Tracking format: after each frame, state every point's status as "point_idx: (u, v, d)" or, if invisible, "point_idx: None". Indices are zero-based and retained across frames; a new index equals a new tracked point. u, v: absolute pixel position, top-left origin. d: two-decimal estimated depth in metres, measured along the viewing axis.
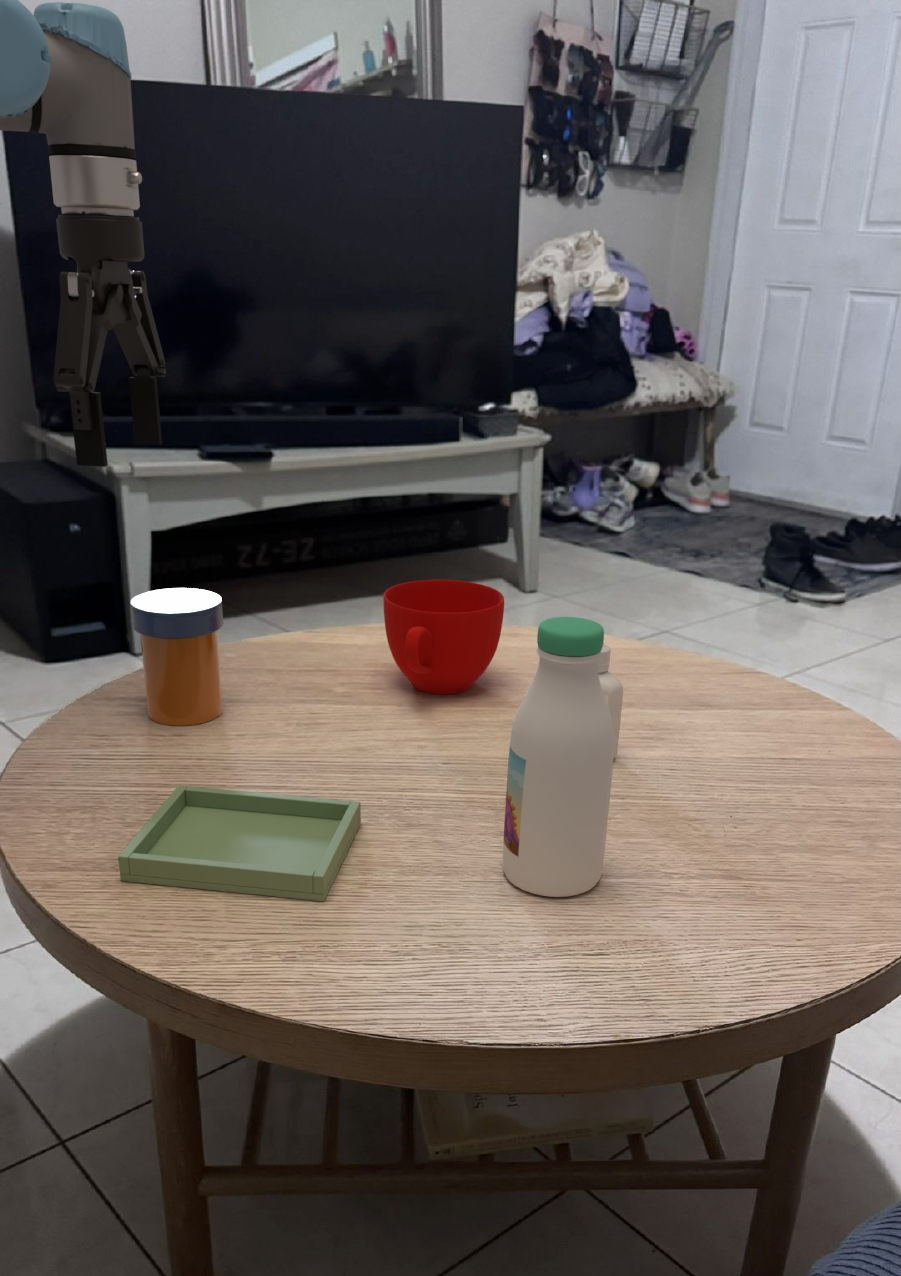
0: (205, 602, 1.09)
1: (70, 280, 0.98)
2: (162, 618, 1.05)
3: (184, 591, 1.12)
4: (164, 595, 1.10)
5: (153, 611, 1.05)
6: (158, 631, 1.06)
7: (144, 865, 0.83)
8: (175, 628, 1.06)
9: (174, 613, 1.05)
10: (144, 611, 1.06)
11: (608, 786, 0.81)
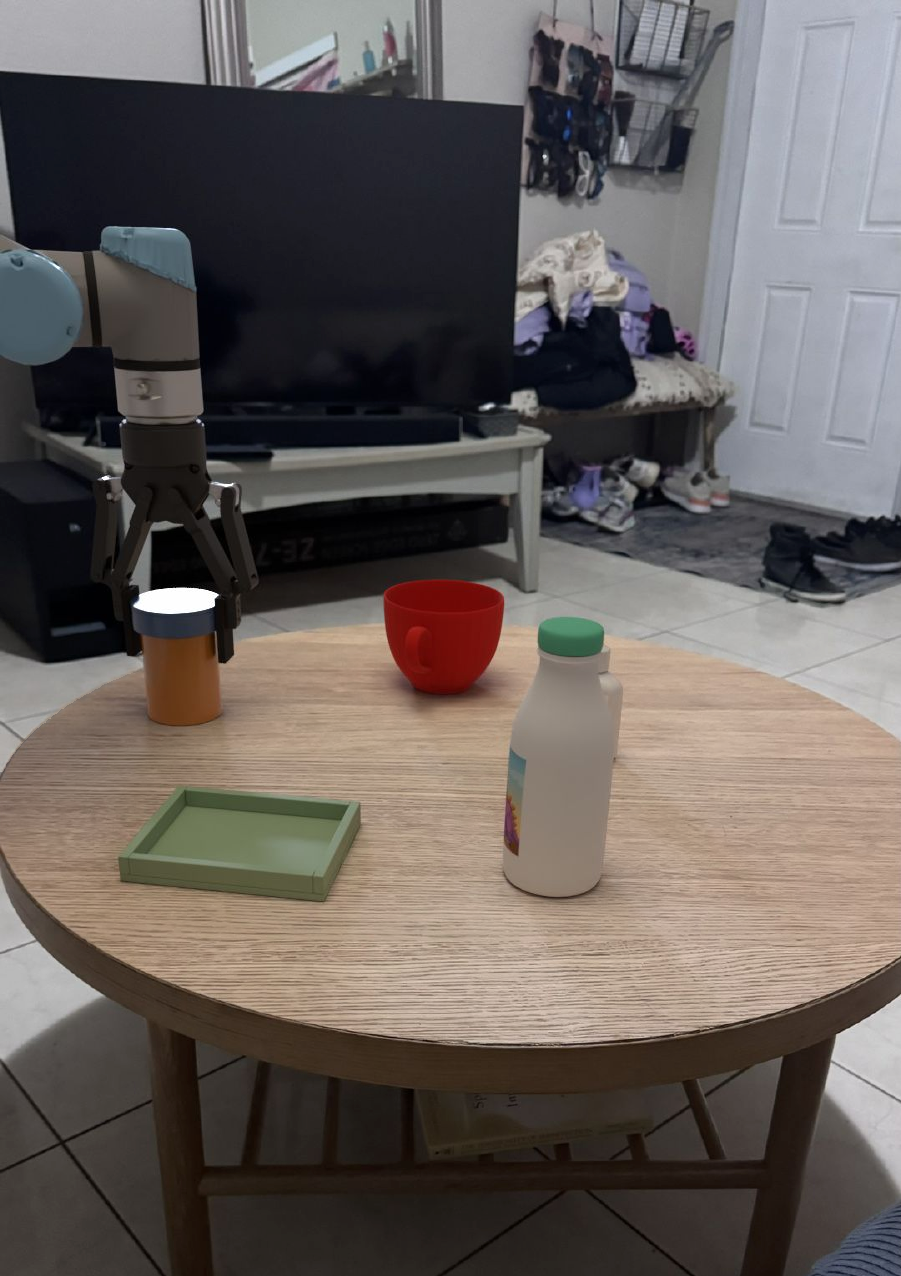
0: (205, 602, 1.09)
1: None
2: (162, 618, 1.05)
3: (184, 591, 1.12)
4: (164, 595, 1.10)
5: (153, 611, 1.05)
6: (158, 631, 1.06)
7: (144, 865, 0.83)
8: (175, 628, 1.06)
9: (174, 613, 1.05)
10: (144, 611, 1.06)
11: (608, 786, 0.81)
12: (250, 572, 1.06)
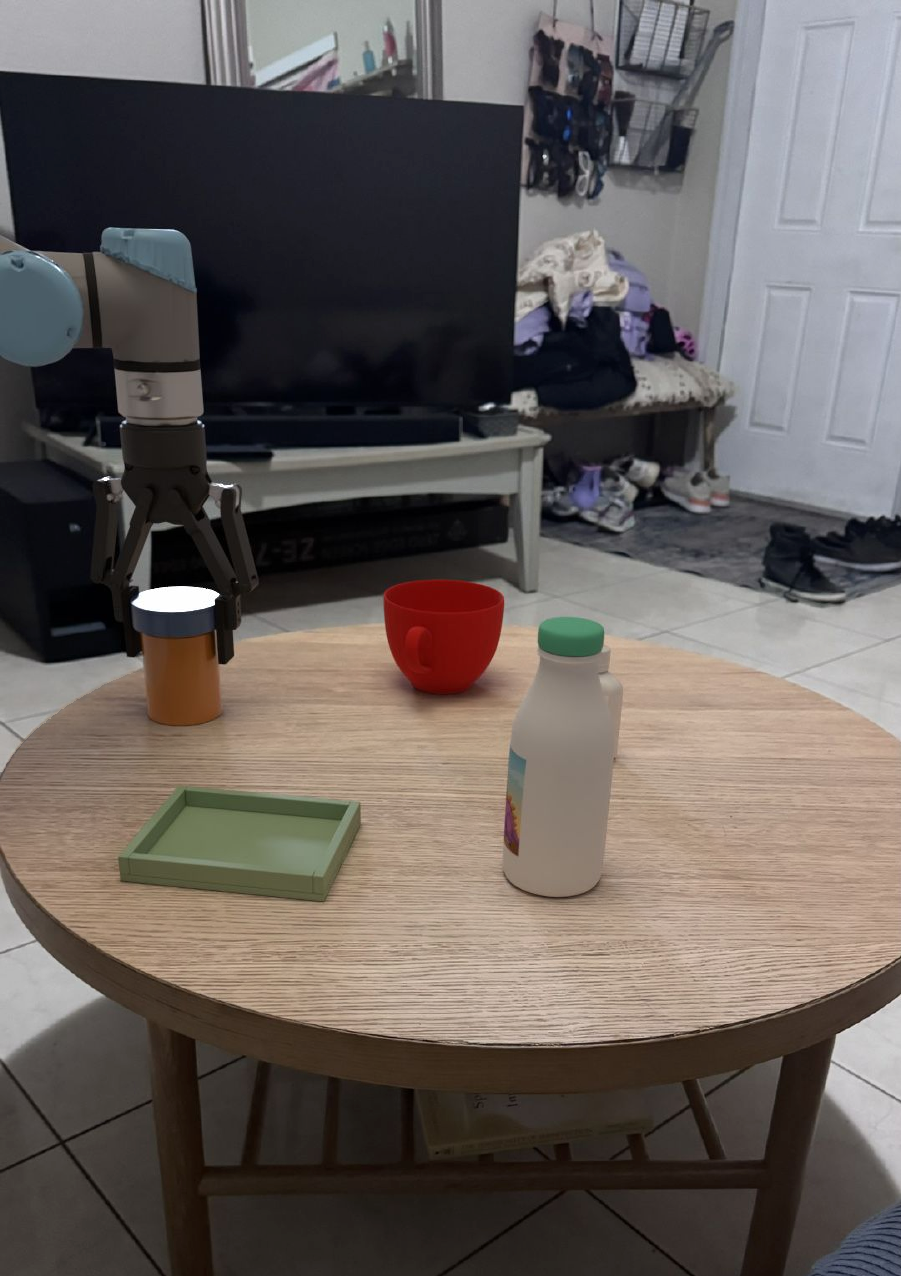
0: (182, 590, 1.12)
1: None
2: None
3: (144, 599, 1.09)
4: (159, 603, 1.07)
5: None
6: None
7: (144, 865, 0.83)
8: None
9: None
10: None
11: (608, 786, 0.81)
12: (250, 573, 1.06)
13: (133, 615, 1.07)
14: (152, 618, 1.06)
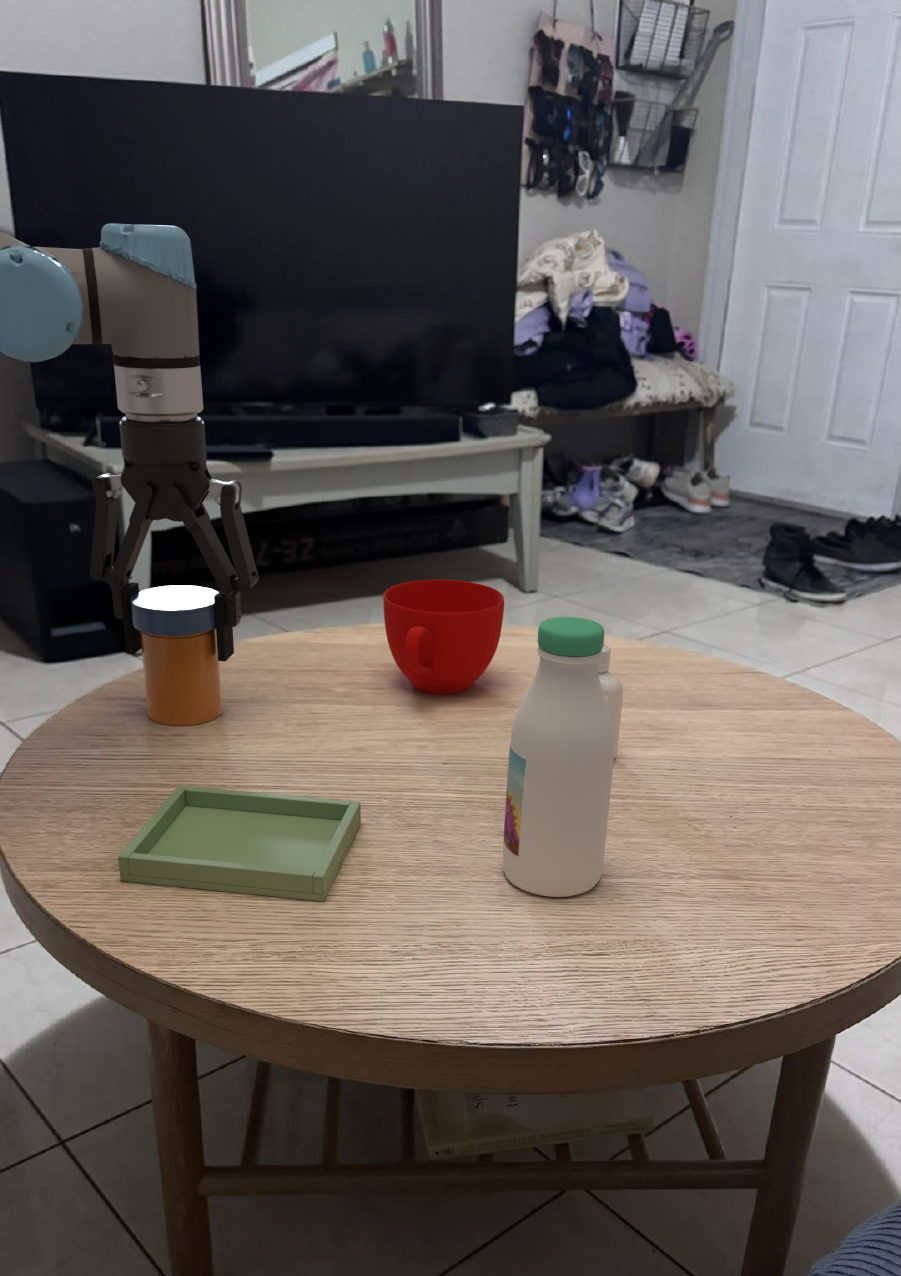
0: (144, 598, 1.08)
1: None
2: None
3: (178, 606, 1.06)
4: (193, 600, 1.08)
5: (184, 586, 1.13)
6: None
7: (144, 865, 0.83)
8: None
9: (163, 587, 1.12)
10: (194, 586, 1.13)
11: (608, 786, 0.81)
12: (250, 570, 1.06)
13: (199, 619, 1.06)
14: None
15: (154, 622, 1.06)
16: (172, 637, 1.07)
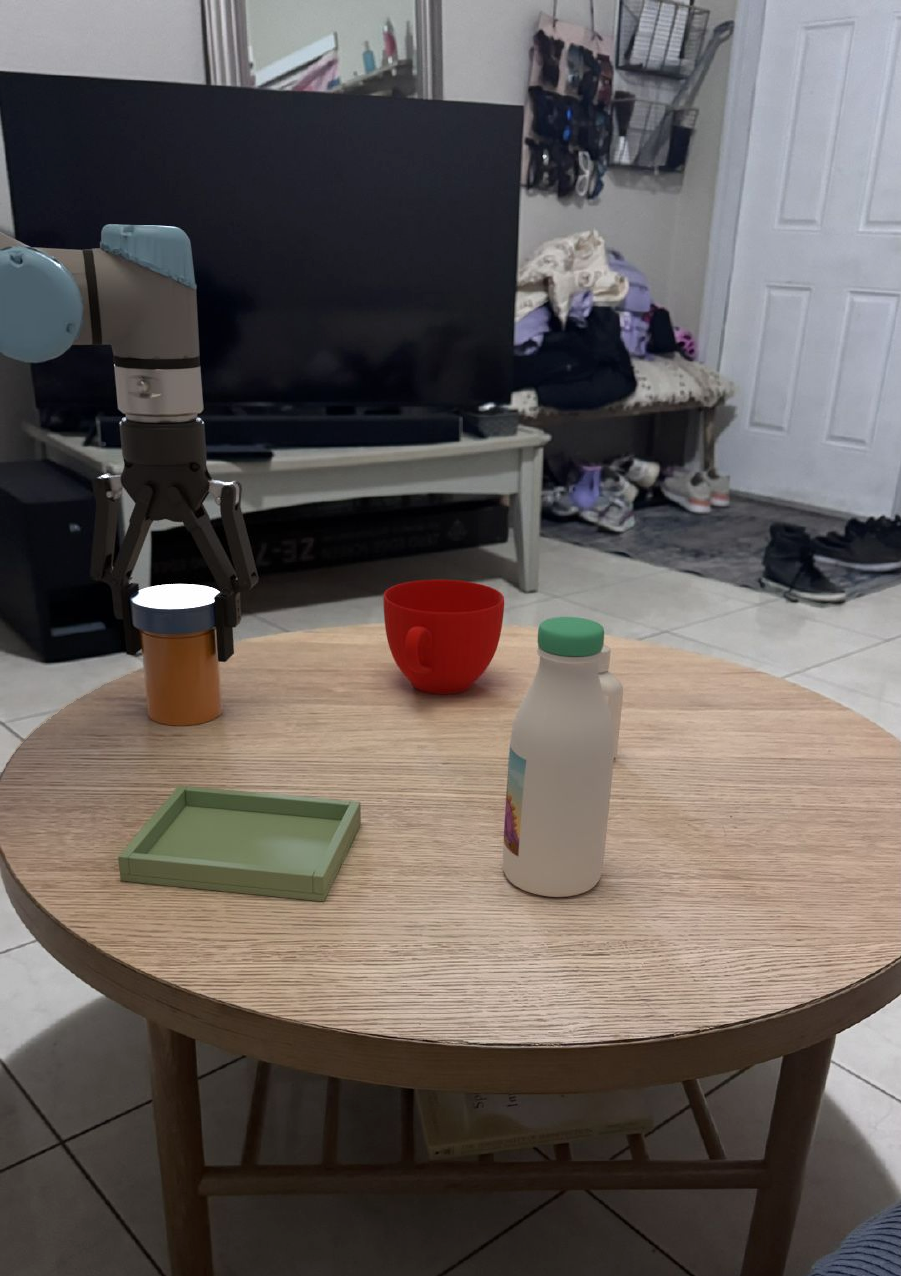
0: (179, 604, 1.06)
1: None
2: None
3: (206, 593, 1.10)
4: (186, 590, 1.11)
5: (132, 597, 1.08)
6: None
7: (144, 865, 0.83)
8: (135, 618, 1.07)
9: (134, 603, 1.06)
10: (132, 595, 1.09)
11: (608, 786, 0.81)
12: (250, 570, 1.06)
13: None
14: None
15: None
16: (172, 637, 1.07)
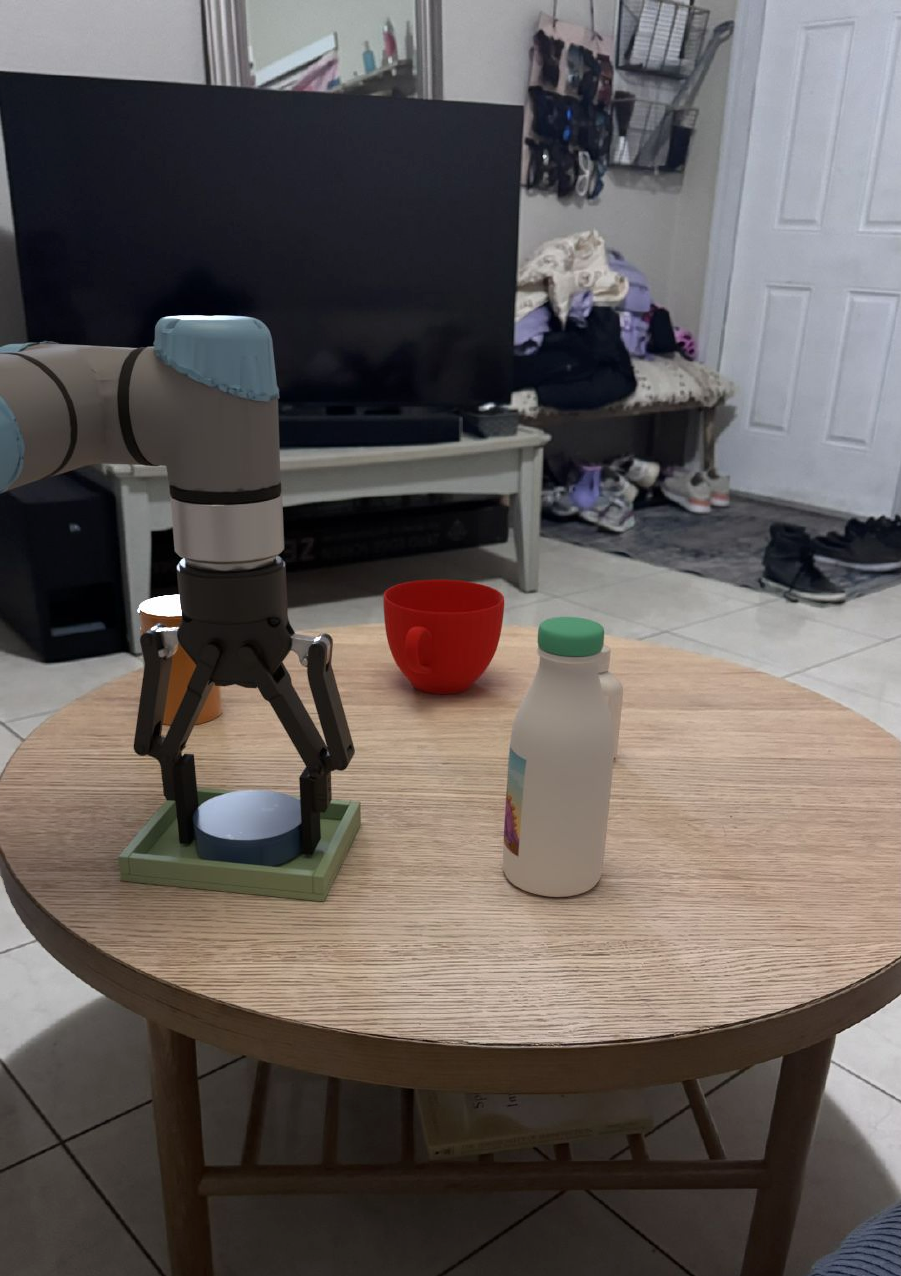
0: (243, 797, 0.89)
1: (328, 649, 0.80)
2: None
3: (211, 820, 0.86)
4: (237, 825, 0.85)
5: None
6: None
7: (144, 865, 0.83)
8: None
9: (297, 800, 0.89)
10: None
11: (608, 786, 0.81)
12: None
13: (207, 846, 0.84)
14: (241, 848, 0.83)
15: None
16: None
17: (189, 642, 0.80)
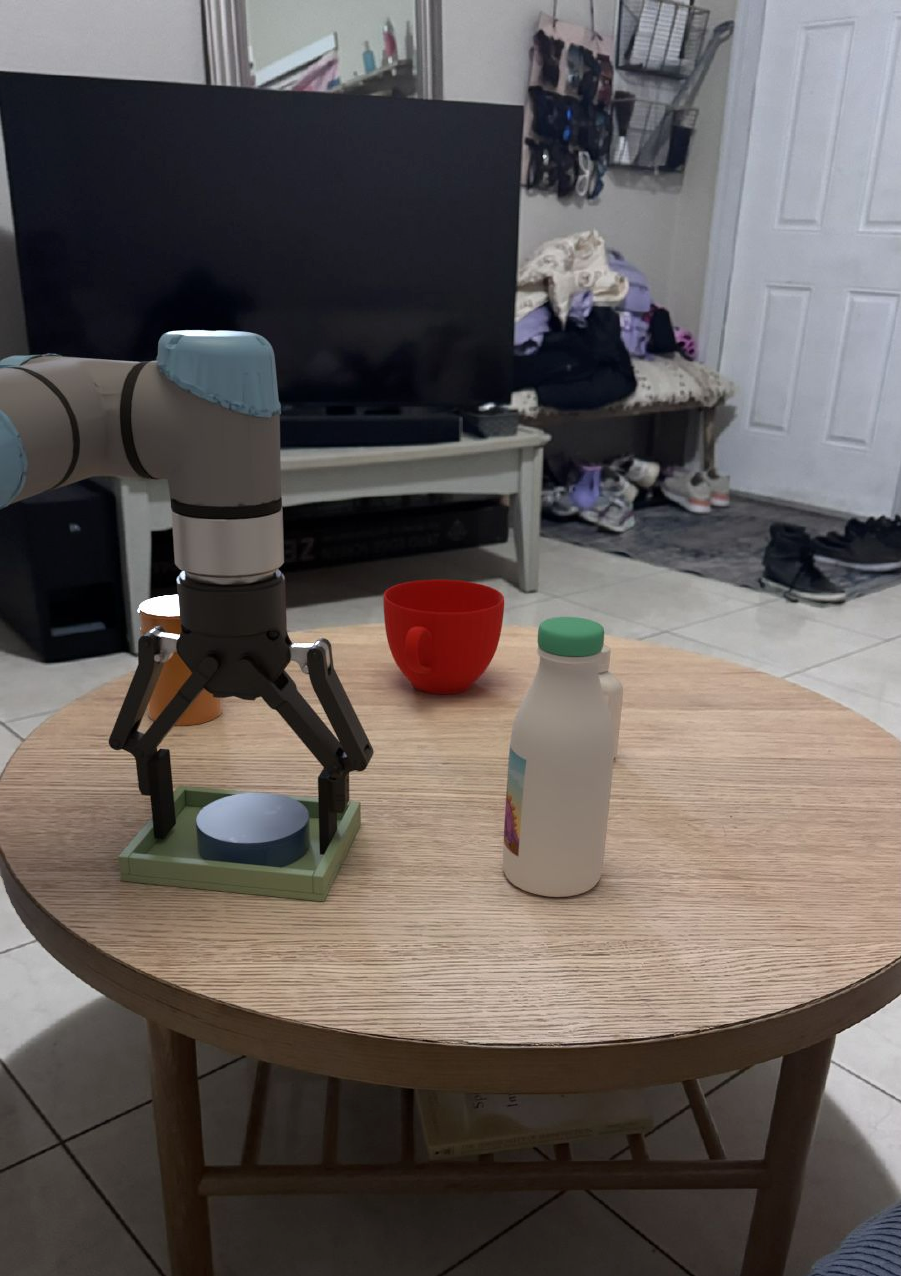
0: (246, 800, 0.89)
1: (326, 653, 0.80)
2: None
3: (214, 823, 0.86)
4: (240, 828, 0.85)
5: (306, 813, 0.88)
6: None
7: (144, 865, 0.83)
8: None
9: (299, 803, 0.89)
10: (308, 819, 0.87)
11: (608, 786, 0.81)
12: None
13: (210, 848, 0.84)
14: (244, 851, 0.83)
15: None
16: None
17: (188, 654, 0.81)
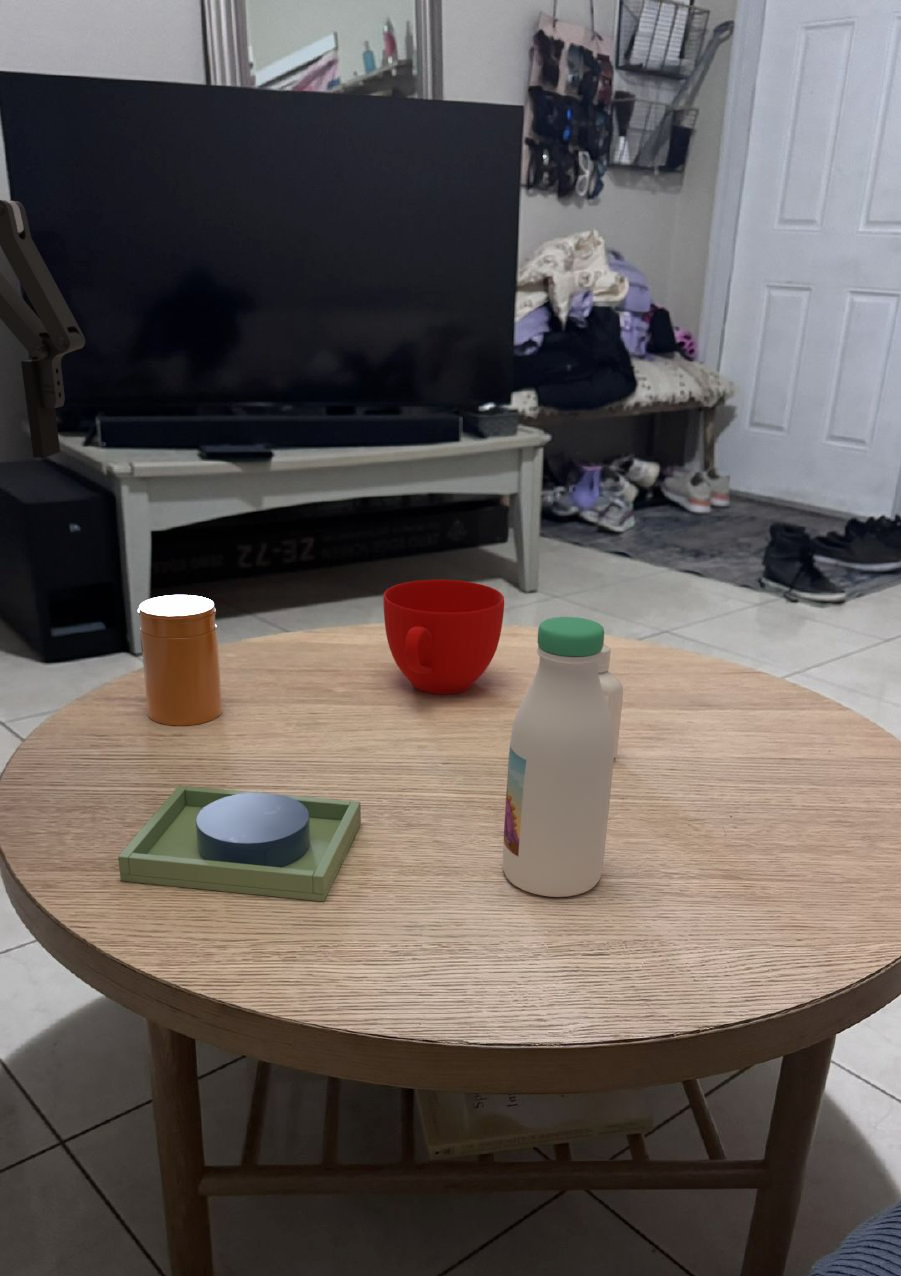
0: (246, 800, 0.89)
1: (15, 211, 0.75)
2: None
3: (214, 823, 0.86)
4: (240, 828, 0.85)
5: (306, 813, 0.88)
6: None
7: (144, 865, 0.83)
8: None
9: (299, 803, 0.89)
10: (308, 819, 0.87)
11: (608, 786, 0.81)
12: None
13: (210, 848, 0.84)
14: (244, 851, 0.83)
15: None
16: (172, 637, 1.07)
17: None
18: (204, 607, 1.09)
